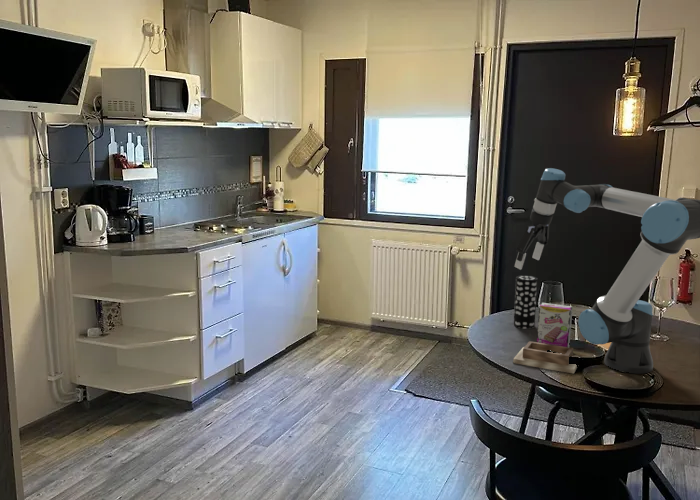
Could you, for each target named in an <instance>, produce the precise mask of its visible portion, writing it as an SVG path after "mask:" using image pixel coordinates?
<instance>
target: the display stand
mask: <svg viewBox="0 0 700 500" xmlns="http://www.w3.org/2000/svg"><path fill="white" fill-rule="evenodd" d="M547 350H551V351H554V352H558V353H553V352H547ZM560 353H562V354H560ZM570 356H577V354H576V355H575V354H574V347H570V346H569V347H563V346H556V345H550V344H544V343H538V342H537V341H530V340H529V341H528V342H527V343H526V345H525V346H523V347H522V348H521V349H520V350H519V352H518V353H516V355H515V356H514V357H513V362H512V363H513V364H515V365H516V364H517V365H523V366H527V367H534V368H535V367H536V368H538V369H539V368H540V369H545V370H550V371H551V370H552V371H556V372H557V371H558V372H561V373H568V374H569V373H570V374H573V375H574V374H575V372H576V370H577V369H578V367H577V365H576V364H569V357H570Z"/></svg>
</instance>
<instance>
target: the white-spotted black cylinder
mask: <svg viewBox="0 0 700 500" xmlns="http://www.w3.org/2000/svg"><path fill="white" fill-rule="evenodd" d="M537 290H538V277H536V276H533V275H518V276H517V275H516V277H515V291H514V292H515V293H514V294H515V295H514V310H513V311H514V312H513V327H515V328H517V329H523V330H524V329H525V330H526V329H527V330H529V329H533V328H535V327H536V326H535V324H536V312H537V311H536V310H537V308H536V307H537V296H538V295H537V293H538V291H537Z"/></svg>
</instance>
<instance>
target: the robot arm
mask: <svg viewBox="0 0 700 500" xmlns="http://www.w3.org/2000/svg"><path fill="white" fill-rule="evenodd" d="M533 201H534V203H533V206H532V209H531V212H530V216H529V219H530V221H531V222H532V224H531V225H527V227H526V229H525V232H524V233H523V235H522V238H521V240H520V241H519V244H518V245H517V247H516V249H515V251H516V252H518V253H517V256H516V259H515V263H514V266H513V268H514V267H515V268H517V269H518V270H520V271H521V270H522V269H523V266H524V263H525V260H526V257H527V253H526V252H527V251H528V249H530V248H529V247H530V246H531V245H532V243H533V241H534V240H535V239H537V242H536V244H535V248H534V250H533V253H532V259H535V260H537V261H540V258H541V256H542V253H543V250H544V247H545V246H547V245H548V242H549V236H550V225H551V223H552V220H553V217H554V214H555V211H556V207H557V205H558V204H560V205H562V207H564V208H566V209H567V210H569V211H571V212H573V213H576V214H580V213H583V211H584V212H585V211H586V210H587V209H588V208H594V207H595V208H596V207H597V208H602V209H605V210H611V211H614V212H618V213H622V214H627V215H631V216H636V217H641V220H640V224H641V227H640V229H641V231H640V235H639V236H640V238H641V241H640V243H639V244H638V246H637V248H635V251H634V252H633V253H632V255H631V256H630V258H629V260H628V261H627V263H626V264H625V266H624V267H623V269H622V271H621V272H620V274H619V275H618V276H617V278H616V280H614V283H613V284H612V286H611V287H610V289H608V292H607V294H605V295H602V296H599V297H598V298H597V299H596V301H595V302H594V304H593V306H592V307H591V308H586V309H584V310H582V311H581V312H580V314H579V317H578V321H577V323H578V327H579V332H580V334H581V335H582V337H583V338H584V340H586V341H587V342H588V343H590V344H592V345H596V346H597V345H606V344H609V343H610V345H609V347H608V349H607V350H606V353H605V356H604V365H606V366H607V367H608V366H609V367H608V368H610V367H611V368H610V369H612V368H613V369H612V370H614V369H616V370H615V371H617V370H619V371H618V372H621V371H625V372H624V373H626V372H629V373H628V374H635V375H637V374H640V375H641V374H647V373H650V372H652V371H653V370H654V361H653V357H652V352H651V348H650V342H651V341H650V340H651V330H652V323H653V316H654V315H653V311H654V310H653V305H652V304H651V303H649V302H648V301H645V300H640V298H641V296H642V295H644V292H645V291H646V290H647V288H648V287H649V285H650V284H651V283H652V281H653V279H654V278H655V277H656V275H657V274H658V272H659V270H661V269H662V267H663V265H664V264H665V262H666V261H667V260H668V258H669V257H670V256H673V255H676V254H679V252H680V250H681V249H682V248H683V246H684V245H685V244H686V242H687V241H688V240H689V241H690V240H696V239H700V199H695V198H694V199H692V198H686V197H677V198H676V199H673V198H669V197H662V196H658V195H653V194H649V193H648V194H647V193H642V192H638V191H631V190H628V189H622V188H619V187H618V188H617V187H613V186H612V185H610V184H606V183H599V184H589V185H587V184H586V185H573V184H571V183H570V182H568V181H566V173H565V172H564V170H561V169H557V168H552V167H549V168H548V167H547V168H545V169H544V171H543V173H542V175H541V178H540V182H539V186H538V190H537V193H536V195H535V198H534V199H533Z"/></svg>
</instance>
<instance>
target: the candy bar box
mask: <svg viewBox="0 0 700 500" xmlns="http://www.w3.org/2000/svg"><path fill="white" fill-rule="evenodd" d="M538 309H539V311H538V320H537V321H538V322H537V334H536V342H538V343H544V344H550V345H556V346H563V347H569V348H570V345H569V343H570V341H571V331H572V319H573V318H572V317H573V309H574V308H573V306H571V305H564V304H555V303H549V302H541V303H540V304H539V308H538Z"/></svg>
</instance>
